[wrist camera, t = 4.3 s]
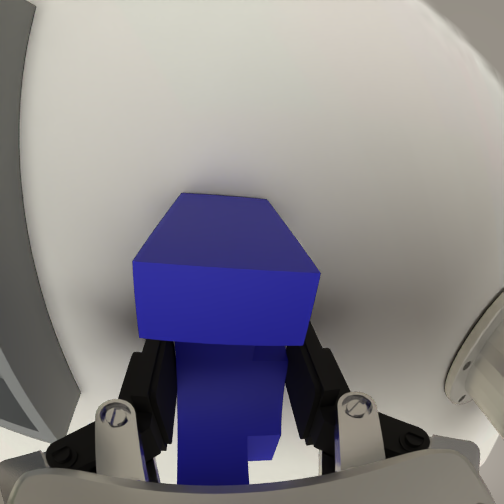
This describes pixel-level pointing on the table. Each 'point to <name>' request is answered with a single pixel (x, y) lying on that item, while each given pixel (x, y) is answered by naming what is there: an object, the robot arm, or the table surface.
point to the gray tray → (24, 272)
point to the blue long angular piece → (225, 326)
